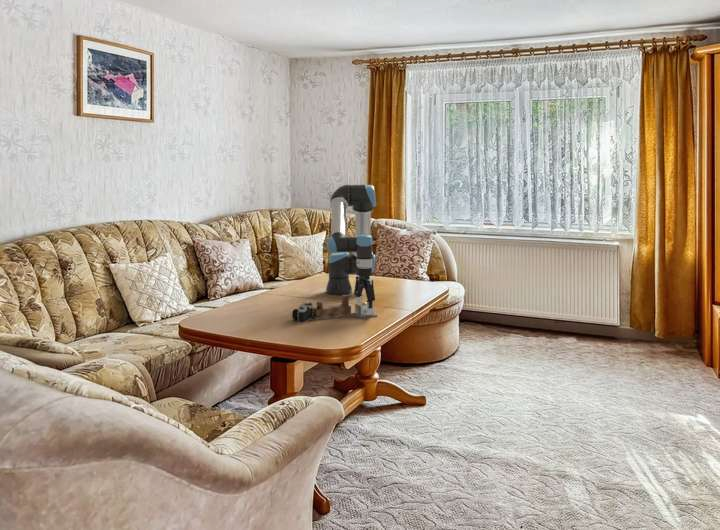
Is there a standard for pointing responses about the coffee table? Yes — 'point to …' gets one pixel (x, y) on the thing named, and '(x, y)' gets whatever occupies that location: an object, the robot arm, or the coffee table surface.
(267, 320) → the coffee table surface
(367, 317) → the felt mat
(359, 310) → the grey gold knob block
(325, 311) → the plane body
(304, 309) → the camera
